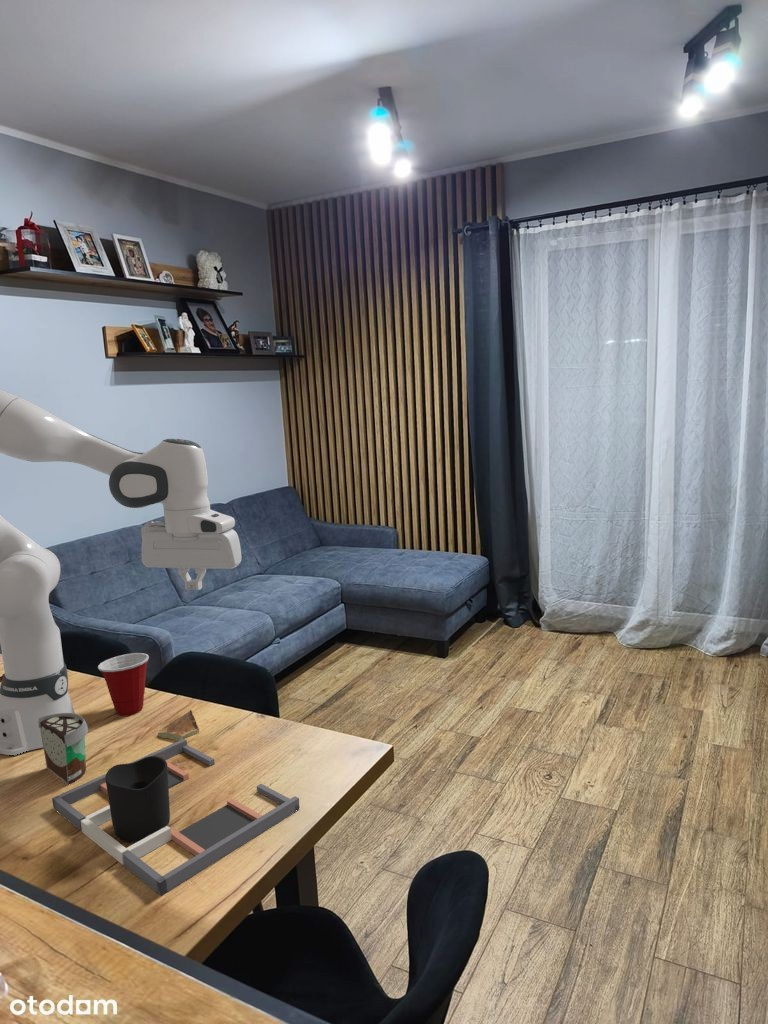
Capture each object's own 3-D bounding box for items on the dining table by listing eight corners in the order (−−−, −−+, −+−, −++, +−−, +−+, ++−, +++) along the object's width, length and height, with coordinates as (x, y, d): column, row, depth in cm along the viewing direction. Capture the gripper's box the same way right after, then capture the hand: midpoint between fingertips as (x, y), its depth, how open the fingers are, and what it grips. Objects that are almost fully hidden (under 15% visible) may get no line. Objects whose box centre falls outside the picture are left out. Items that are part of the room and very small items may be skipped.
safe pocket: (126, 807, 119) (125, 797, 118) (171, 839, 110) (170, 828, 109) (80, 830, 113) (79, 819, 112) (124, 866, 104) (123, 854, 103)
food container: (104, 773, 130) (99, 723, 128) (72, 787, 126) (65, 736, 124) (75, 753, 138) (69, 705, 137) (43, 765, 134) (37, 717, 132)
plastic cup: (130, 696, 164) (125, 648, 162) (164, 704, 159) (159, 654, 157) (92, 715, 155) (86, 664, 153) (126, 724, 150) (120, 672, 148)
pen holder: (133, 807, 119) (127, 753, 117) (183, 813, 117) (177, 757, 115) (99, 842, 110) (92, 784, 108) (153, 848, 108) (147, 789, 106)
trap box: (184, 748, 139) (183, 738, 138) (299, 809, 116) (298, 798, 116) (53, 808, 119) (52, 798, 119) (161, 895, 97) (159, 883, 97)
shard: (191, 716, 154) (190, 708, 153) (219, 721, 151) (218, 713, 150) (156, 738, 144) (155, 730, 144) (185, 744, 141) (185, 736, 141)
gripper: (131, 524, 136) (138, 592, 138) (228, 524, 132) (233, 594, 134) (149, 518, 142) (155, 583, 144) (242, 518, 138) (247, 585, 140)
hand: (193, 589), depth 139 cm, fingers closed
